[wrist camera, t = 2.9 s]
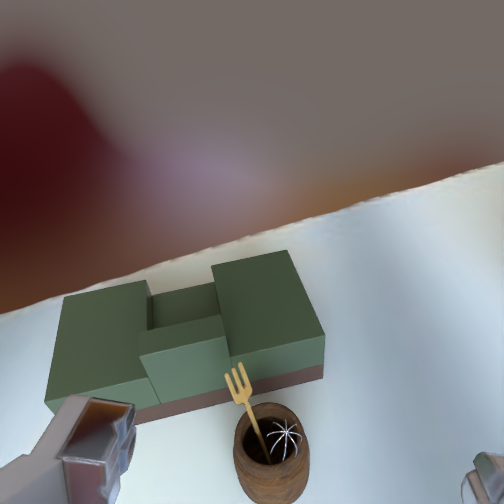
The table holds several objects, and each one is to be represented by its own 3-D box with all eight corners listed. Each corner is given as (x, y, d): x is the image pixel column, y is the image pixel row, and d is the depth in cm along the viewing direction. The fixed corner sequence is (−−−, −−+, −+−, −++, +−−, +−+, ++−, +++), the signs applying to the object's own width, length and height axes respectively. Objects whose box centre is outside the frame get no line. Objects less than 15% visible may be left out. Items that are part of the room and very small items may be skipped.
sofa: (288, 292, 48) (286, 227, 42) (323, 378, 40) (326, 313, 33) (87, 337, 46) (51, 276, 39) (75, 440, 37) (26, 382, 30)
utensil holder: (273, 531, 30) (262, 470, 22) (222, 466, 34) (197, 395, 26) (324, 473, 33) (331, 400, 25) (272, 419, 37) (263, 342, 29)
